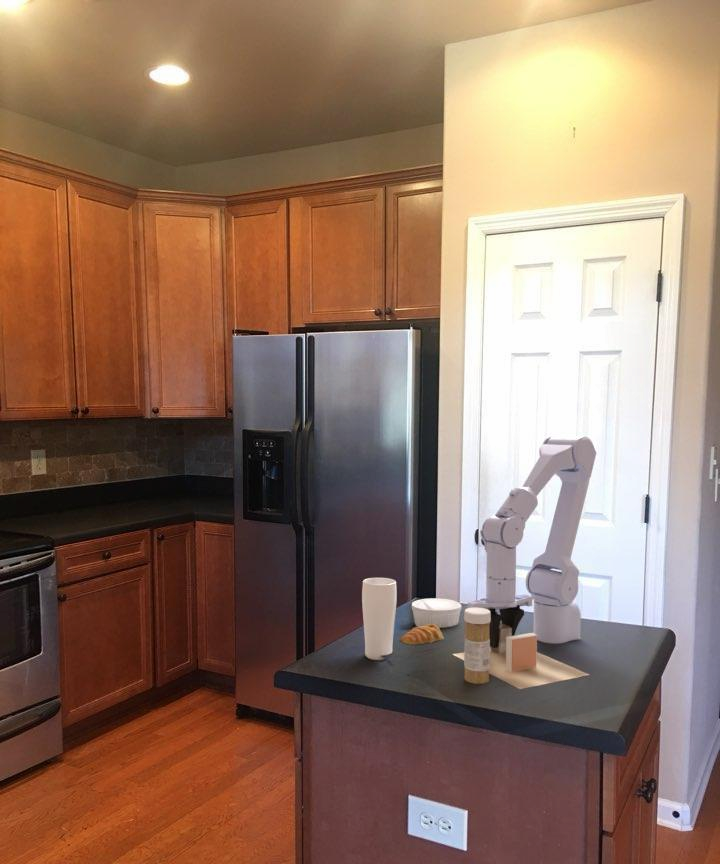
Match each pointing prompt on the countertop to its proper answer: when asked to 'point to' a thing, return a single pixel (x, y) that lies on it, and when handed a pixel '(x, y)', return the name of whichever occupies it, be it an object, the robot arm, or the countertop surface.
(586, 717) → the countertop surface
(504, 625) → the tan wooden block
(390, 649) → the drinking glass
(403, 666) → the countertop surface
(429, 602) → the ramekin
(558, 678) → the board
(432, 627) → the pastry
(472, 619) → the sprinkles bottle
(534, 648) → the tile
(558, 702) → the countertop surface
